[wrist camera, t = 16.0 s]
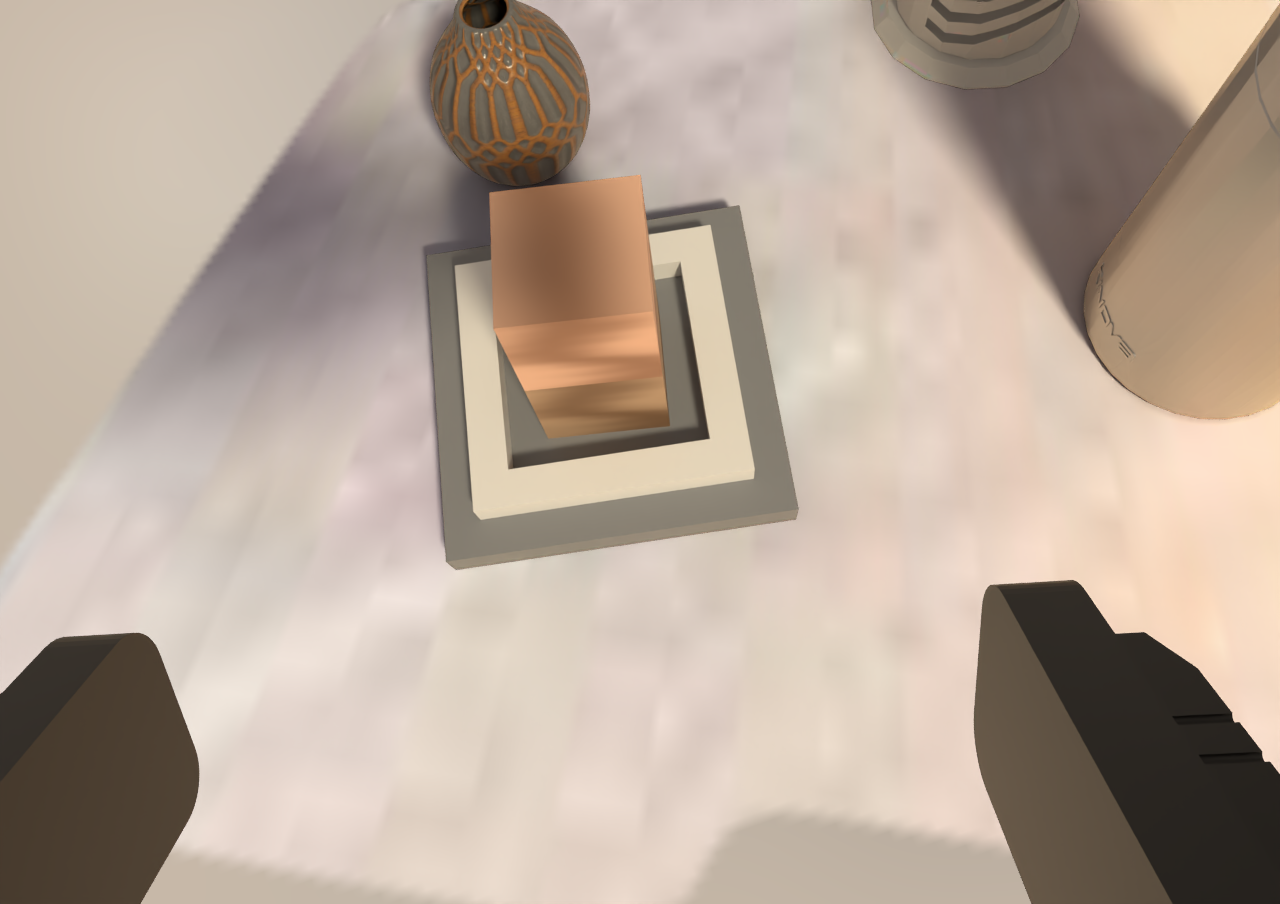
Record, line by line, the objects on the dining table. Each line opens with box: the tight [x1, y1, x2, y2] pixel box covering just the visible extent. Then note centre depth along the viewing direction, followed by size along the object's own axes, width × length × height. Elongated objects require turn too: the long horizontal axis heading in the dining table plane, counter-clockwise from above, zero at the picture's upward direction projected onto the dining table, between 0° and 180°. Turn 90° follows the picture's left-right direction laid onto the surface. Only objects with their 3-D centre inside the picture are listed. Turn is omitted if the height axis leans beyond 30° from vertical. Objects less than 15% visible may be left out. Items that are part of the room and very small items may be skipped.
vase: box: [430, 0, 590, 186], centre depth 42 cm, size 7×7×9 cm
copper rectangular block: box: [489, 175, 670, 439], centre depth 36 cm, size 5×5×10 cm
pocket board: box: [426, 205, 799, 570], centre depth 40 cm, size 14×14×3 cm
